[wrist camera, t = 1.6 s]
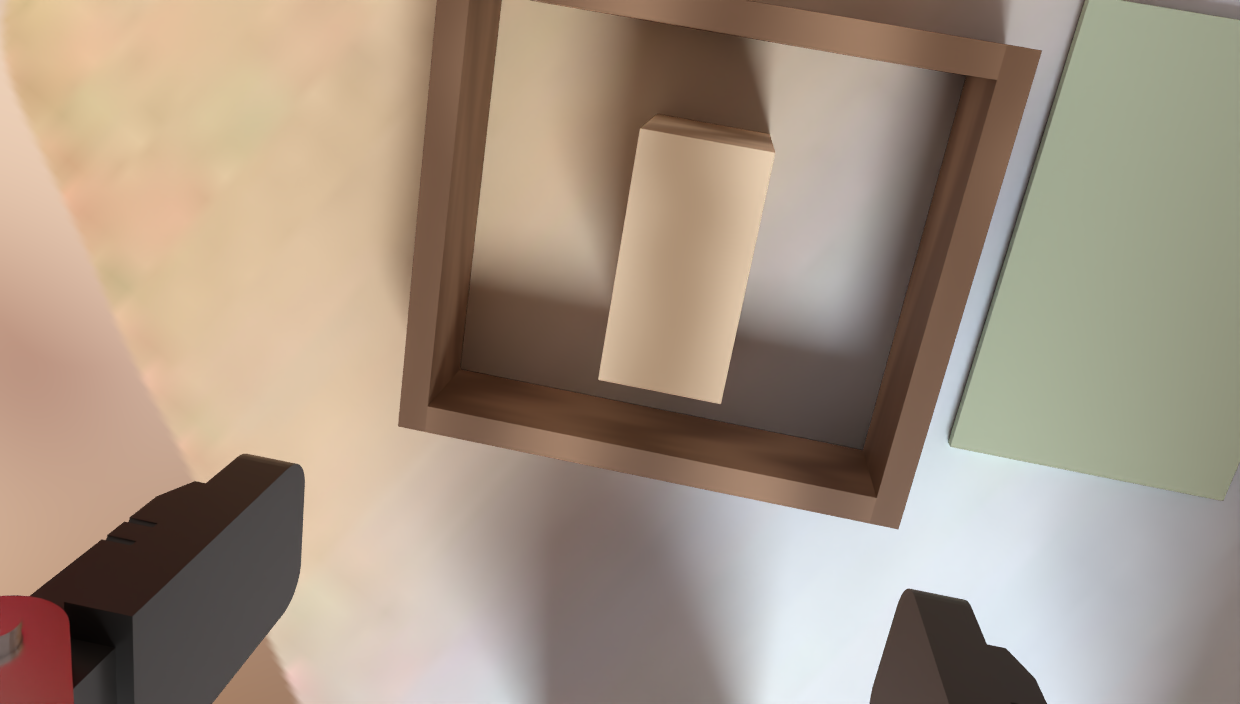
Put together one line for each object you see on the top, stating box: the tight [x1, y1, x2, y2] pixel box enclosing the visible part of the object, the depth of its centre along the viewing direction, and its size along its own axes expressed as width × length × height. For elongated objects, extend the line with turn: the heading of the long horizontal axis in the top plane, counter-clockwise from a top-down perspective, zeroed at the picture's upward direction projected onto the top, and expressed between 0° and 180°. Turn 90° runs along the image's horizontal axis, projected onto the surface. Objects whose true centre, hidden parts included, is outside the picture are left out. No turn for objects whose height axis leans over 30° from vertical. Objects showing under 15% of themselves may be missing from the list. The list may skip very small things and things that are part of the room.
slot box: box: [398, 0, 1042, 529], centre depth 32 cm, size 18×16×4 cm
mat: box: [948, 0, 1240, 501], centre depth 32 cm, size 10×16×1 cm, turn 171°
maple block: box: [598, 114, 775, 404], centre depth 31 cm, size 4×8×6 cm, turn 171°
